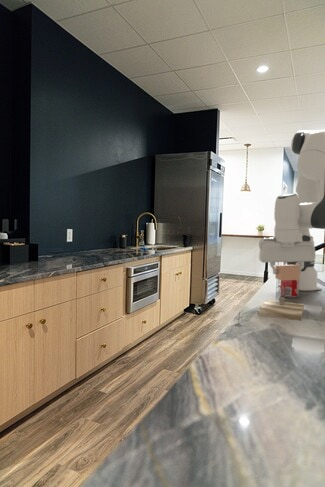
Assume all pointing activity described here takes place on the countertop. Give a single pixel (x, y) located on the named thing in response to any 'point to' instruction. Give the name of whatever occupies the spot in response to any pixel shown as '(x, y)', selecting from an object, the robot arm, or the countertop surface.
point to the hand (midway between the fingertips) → (286, 273)
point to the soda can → (290, 288)
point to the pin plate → (282, 309)
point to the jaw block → (287, 272)
